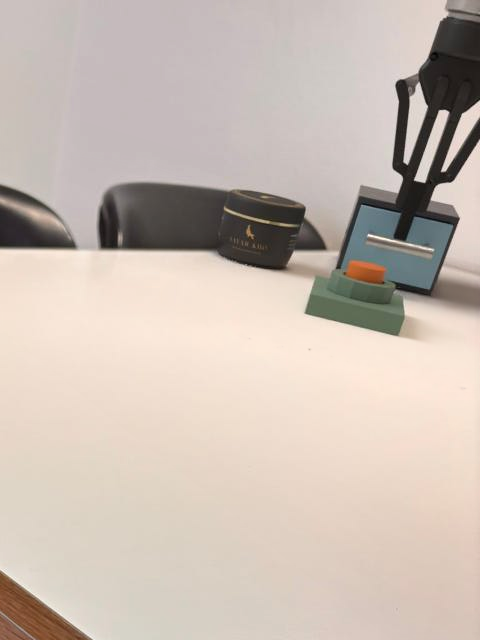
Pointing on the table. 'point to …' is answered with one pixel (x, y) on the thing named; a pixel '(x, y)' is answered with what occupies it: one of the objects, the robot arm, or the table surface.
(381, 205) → the drawer cabinet
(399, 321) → the panel
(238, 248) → the jar
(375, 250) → the drawer
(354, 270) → the button
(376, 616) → the table surface
